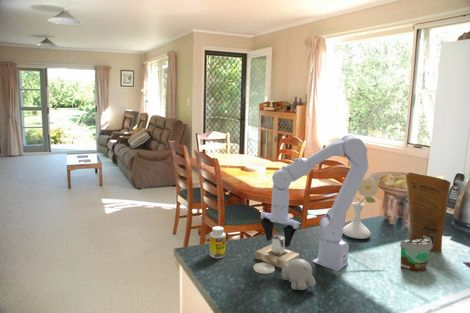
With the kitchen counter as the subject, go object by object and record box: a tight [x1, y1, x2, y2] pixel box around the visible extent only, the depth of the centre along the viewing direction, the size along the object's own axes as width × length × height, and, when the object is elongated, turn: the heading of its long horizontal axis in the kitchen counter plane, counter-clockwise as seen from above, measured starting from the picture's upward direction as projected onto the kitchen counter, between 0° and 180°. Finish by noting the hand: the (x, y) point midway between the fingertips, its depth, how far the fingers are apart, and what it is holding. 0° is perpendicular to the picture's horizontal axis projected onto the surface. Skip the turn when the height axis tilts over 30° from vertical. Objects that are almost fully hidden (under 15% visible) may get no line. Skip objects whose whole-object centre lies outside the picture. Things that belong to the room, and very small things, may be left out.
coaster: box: [253, 262, 276, 275], centre depth 121 cm, size 7×7×1 cm
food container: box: [399, 235, 433, 273], centre depth 122 cm, size 12×6×10 cm, turn 117°
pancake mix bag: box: [405, 171, 452, 253], centre depth 142 cm, size 7×19×28 cm, turn 16°
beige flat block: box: [255, 243, 301, 269], centre depth 128 cm, size 12×9×2 cm
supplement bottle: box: [209, 225, 227, 259], centre depth 129 cm, size 6×6×10 cm
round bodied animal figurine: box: [281, 258, 317, 291], centre depth 110 cm, size 7×12×8 cm, turn 30°
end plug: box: [271, 234, 285, 257], centre depth 127 cm, size 4×4×8 cm
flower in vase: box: [343, 177, 380, 240], centre depth 149 cm, size 13×11×25 cm
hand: (277, 242), depth 127 cm, fingers open, 7 cm apart
